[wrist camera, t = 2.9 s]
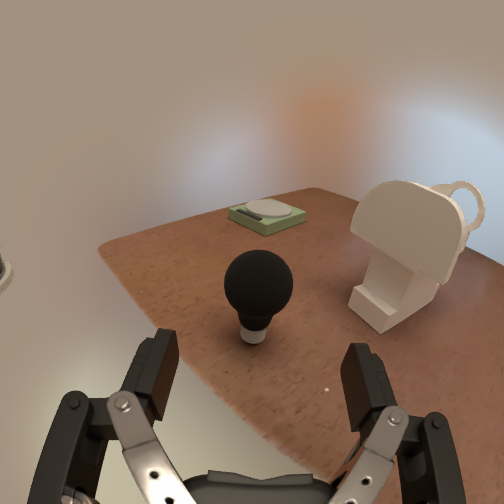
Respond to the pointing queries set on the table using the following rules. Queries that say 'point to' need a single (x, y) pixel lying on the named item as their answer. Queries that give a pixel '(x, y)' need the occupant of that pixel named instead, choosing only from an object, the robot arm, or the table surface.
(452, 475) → the robot arm
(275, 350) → the table surface
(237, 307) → the light bulb
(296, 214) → the scale
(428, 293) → the tape dispenser
